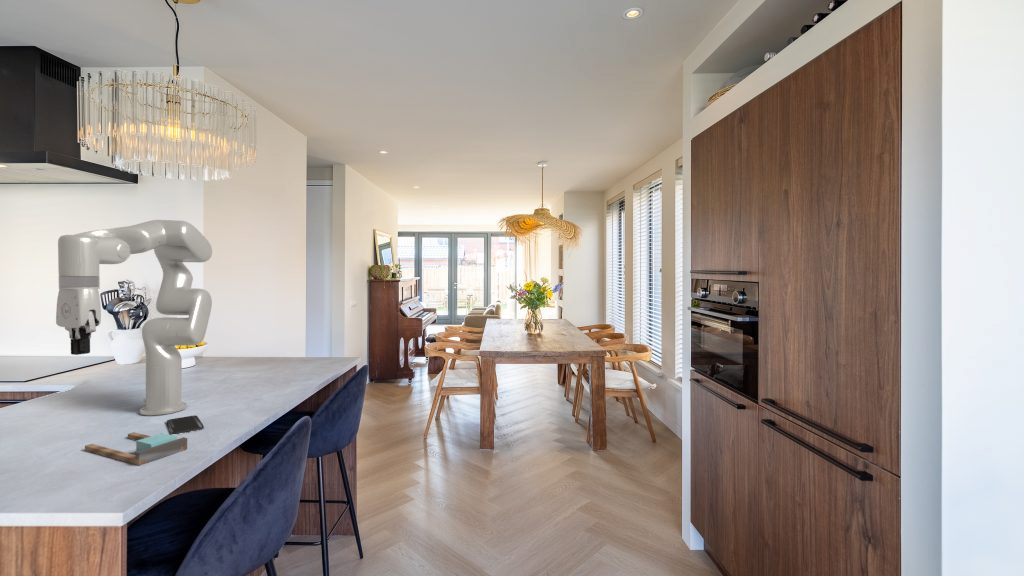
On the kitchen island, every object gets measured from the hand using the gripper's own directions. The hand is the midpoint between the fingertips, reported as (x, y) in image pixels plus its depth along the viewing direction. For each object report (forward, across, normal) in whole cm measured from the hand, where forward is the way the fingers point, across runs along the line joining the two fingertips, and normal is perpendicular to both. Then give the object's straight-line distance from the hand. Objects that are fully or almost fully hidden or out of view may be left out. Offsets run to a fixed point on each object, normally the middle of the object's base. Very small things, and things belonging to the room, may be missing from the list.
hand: (80, 353), depth 113 cm
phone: (+26, +5, +23) cm, 35 cm away
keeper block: (+26, +19, +6) cm, 33 cm away
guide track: (+26, +12, +5) cm, 29 cm away
